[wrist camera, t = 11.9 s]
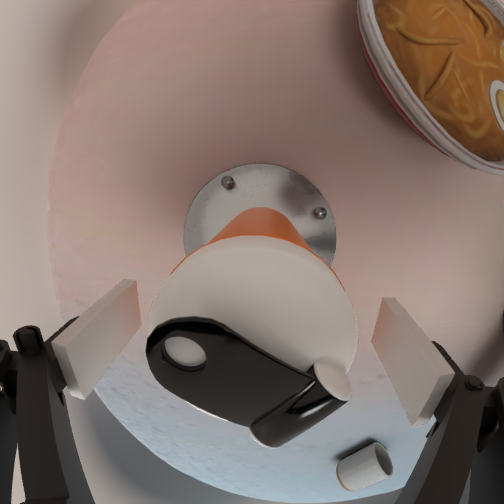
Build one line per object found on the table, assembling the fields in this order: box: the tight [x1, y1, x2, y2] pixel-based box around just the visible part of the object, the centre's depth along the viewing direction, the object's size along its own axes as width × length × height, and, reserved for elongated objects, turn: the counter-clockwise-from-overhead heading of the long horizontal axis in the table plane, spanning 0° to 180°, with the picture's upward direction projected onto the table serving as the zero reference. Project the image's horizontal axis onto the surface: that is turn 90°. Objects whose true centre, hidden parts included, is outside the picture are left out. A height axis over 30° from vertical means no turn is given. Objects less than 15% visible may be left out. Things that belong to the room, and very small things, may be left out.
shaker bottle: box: [146, 207, 358, 449], centre depth 18 cm, size 9×9×20 cm
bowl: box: [356, 0, 504, 175], centre depth 17 cm, size 23×23×10 cm
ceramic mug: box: [336, 442, 393, 491], centre depth 35 cm, size 11×8×8 cm
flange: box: [184, 164, 336, 267], centre depth 28 cm, size 15×15×1 cm
